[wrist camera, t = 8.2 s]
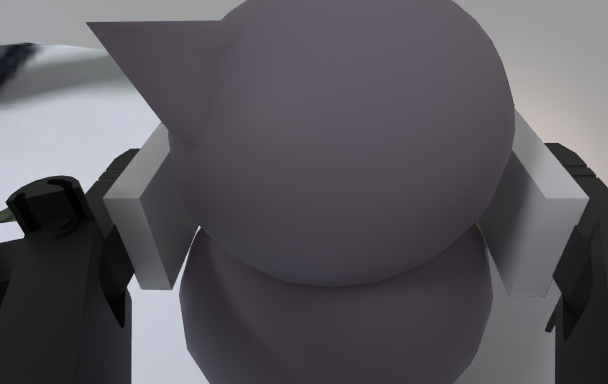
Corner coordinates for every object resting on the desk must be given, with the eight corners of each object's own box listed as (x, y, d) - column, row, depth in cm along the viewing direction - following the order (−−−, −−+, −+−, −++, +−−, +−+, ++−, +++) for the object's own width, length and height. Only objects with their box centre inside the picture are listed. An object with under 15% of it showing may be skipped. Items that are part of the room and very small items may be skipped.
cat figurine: (359, 603, 9) (432, 123, 2) (163, 387, 14) (-24, -6, 7) (498, 343, 14) (655, -54, 7) (323, 247, 19) (315, -61, 12)
